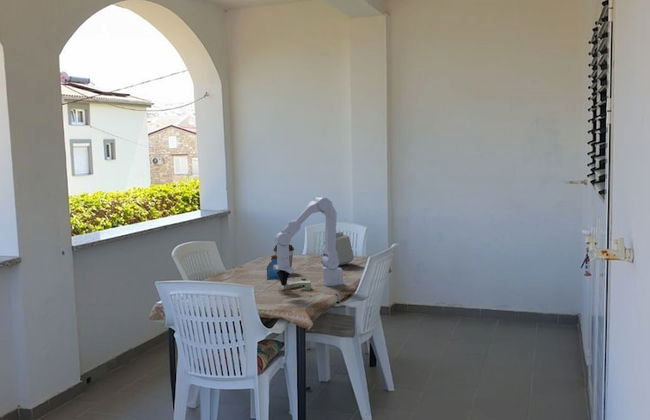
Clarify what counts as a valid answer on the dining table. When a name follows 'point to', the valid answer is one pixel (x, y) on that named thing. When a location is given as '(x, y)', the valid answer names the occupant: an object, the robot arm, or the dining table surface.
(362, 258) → the dining table surface
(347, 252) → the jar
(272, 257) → the perfume bottle
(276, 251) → the coffee cup
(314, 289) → the board
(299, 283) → the keeper
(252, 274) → the dining table surface
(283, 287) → the link
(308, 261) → the dining table surface
